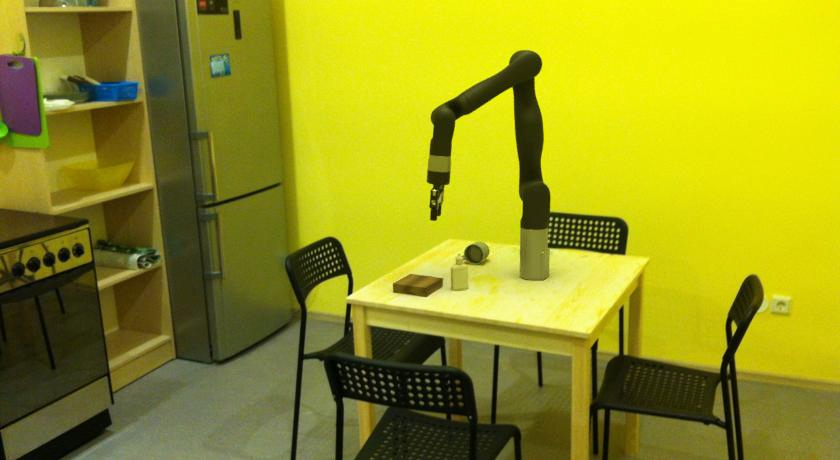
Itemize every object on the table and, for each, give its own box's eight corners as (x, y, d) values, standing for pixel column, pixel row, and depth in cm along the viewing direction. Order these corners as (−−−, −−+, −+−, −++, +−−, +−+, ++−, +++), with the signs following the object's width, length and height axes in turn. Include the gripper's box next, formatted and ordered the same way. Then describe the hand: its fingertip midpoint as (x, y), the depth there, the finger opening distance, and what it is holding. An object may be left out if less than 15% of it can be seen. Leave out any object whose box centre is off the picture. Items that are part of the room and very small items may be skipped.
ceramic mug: (490, 260, 297) (490, 239, 295) (483, 265, 290) (483, 245, 288) (463, 258, 301) (463, 238, 299) (455, 263, 294) (455, 243, 292)
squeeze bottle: (467, 291, 261) (467, 255, 258) (450, 290, 262) (449, 254, 259) (468, 287, 265) (468, 251, 262) (451, 286, 266) (451, 251, 263)
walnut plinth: (442, 286, 266) (442, 277, 265) (426, 297, 256) (426, 287, 255) (410, 282, 271) (410, 273, 271) (393, 292, 261) (392, 283, 260)
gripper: (447, 173, 255) (443, 223, 258) (453, 167, 268) (449, 215, 272) (424, 170, 256) (420, 221, 259) (431, 165, 269) (427, 213, 273)
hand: (435, 218), depth 265 cm, fingers open, 8 cm apart
